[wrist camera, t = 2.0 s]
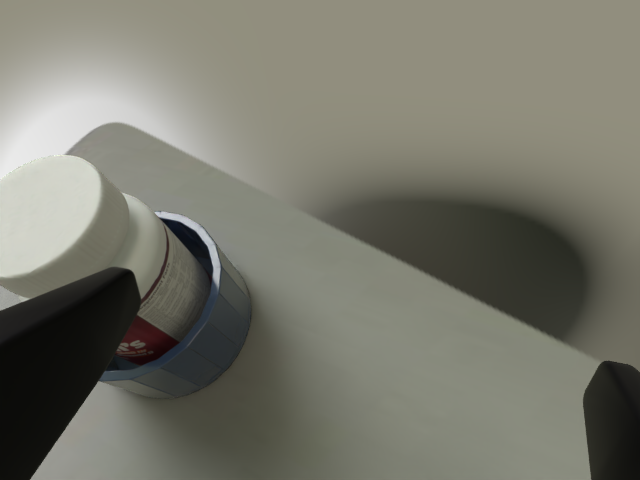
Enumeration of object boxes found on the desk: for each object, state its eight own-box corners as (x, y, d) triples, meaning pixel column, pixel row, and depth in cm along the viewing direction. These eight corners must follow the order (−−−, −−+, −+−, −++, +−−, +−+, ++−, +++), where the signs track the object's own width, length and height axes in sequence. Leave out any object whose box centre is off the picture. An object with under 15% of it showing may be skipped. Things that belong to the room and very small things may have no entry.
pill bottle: (105, 359, 24) (-94, 278, 14) (151, 261, 27) (9, 136, 17) (204, 384, 22) (56, 311, 13) (241, 277, 25) (143, 150, 15)
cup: (146, 435, 22) (85, 424, 18) (86, 312, 26) (25, 280, 22) (280, 328, 24) (255, 295, 20) (205, 229, 28) (170, 183, 24)
